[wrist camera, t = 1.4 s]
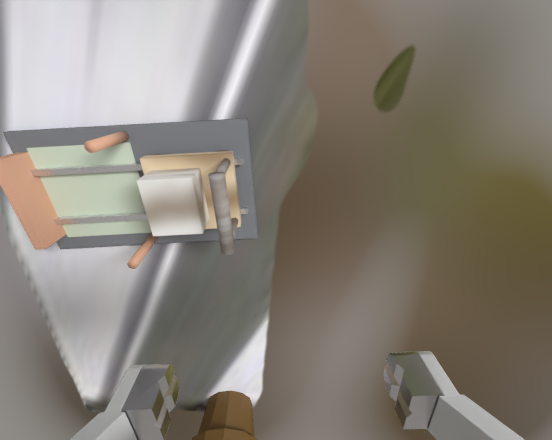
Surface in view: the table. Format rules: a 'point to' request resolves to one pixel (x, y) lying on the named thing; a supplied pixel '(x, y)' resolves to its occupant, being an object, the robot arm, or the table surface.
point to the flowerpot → (227, 418)
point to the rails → (100, 170)
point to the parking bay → (75, 192)
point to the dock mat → (159, 142)
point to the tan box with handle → (191, 195)
